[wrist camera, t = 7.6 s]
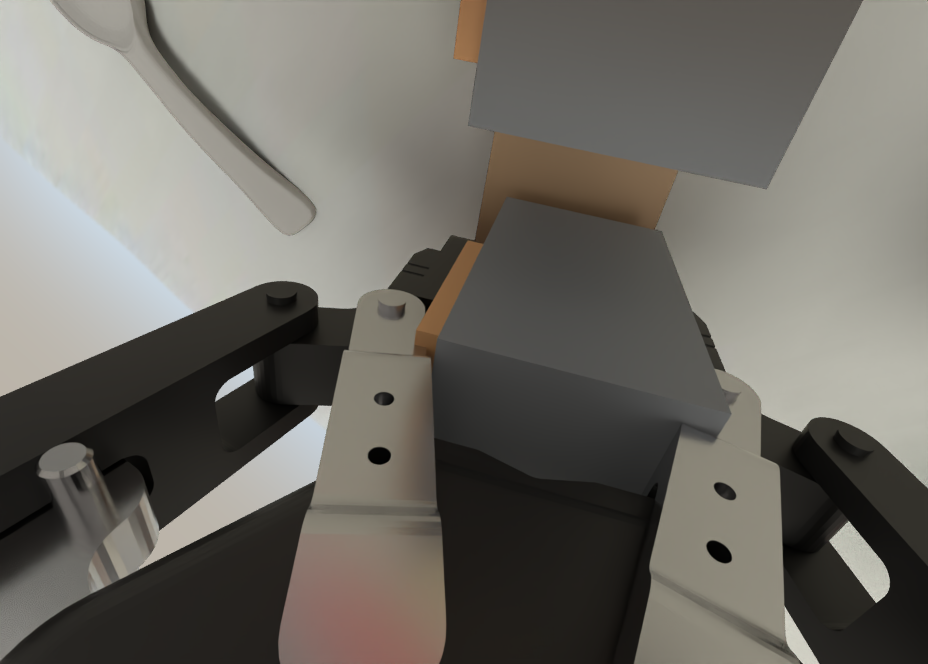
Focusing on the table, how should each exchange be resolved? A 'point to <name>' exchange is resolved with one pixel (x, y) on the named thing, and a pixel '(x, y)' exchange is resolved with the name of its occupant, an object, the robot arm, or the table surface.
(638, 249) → the grey block
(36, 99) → the table surface
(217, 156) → the spoon
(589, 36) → the rail
